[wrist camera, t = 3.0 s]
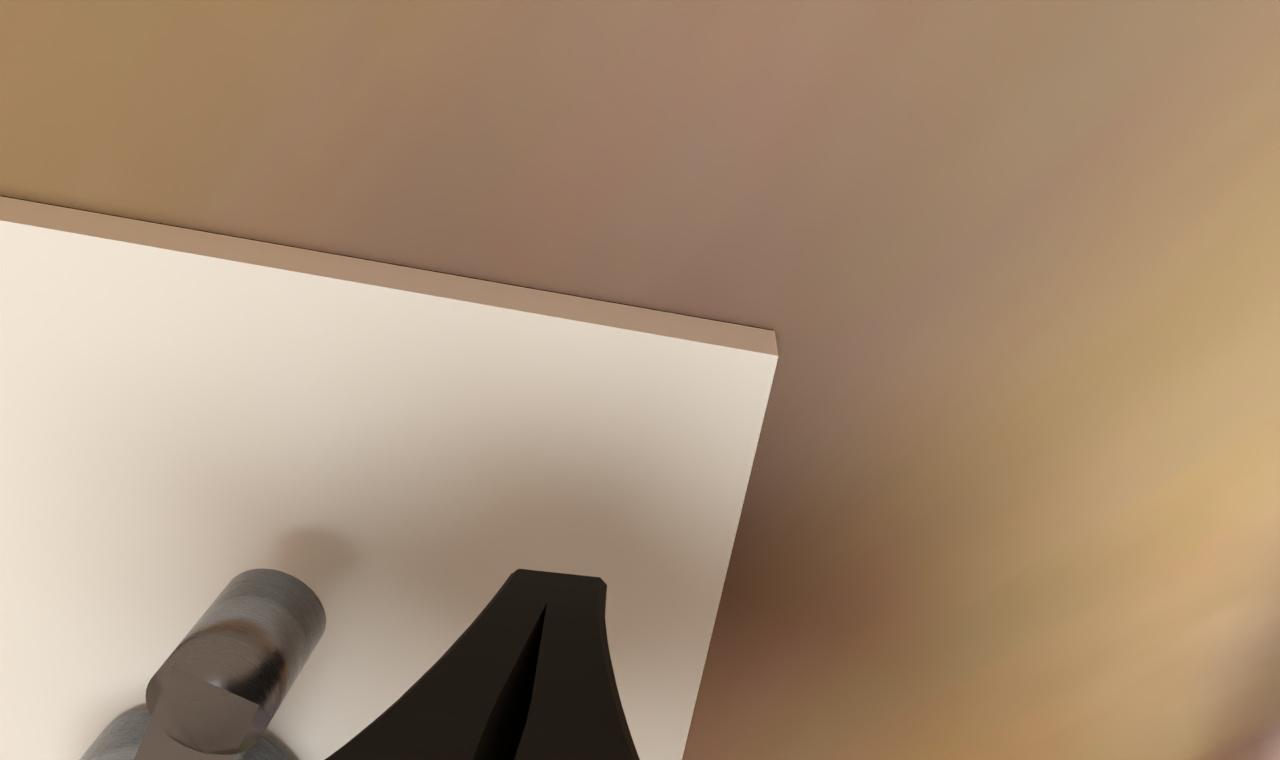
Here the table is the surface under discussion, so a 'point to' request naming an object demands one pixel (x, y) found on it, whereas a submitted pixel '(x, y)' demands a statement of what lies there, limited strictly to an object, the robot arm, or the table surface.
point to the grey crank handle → (224, 677)
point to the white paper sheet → (343, 468)
